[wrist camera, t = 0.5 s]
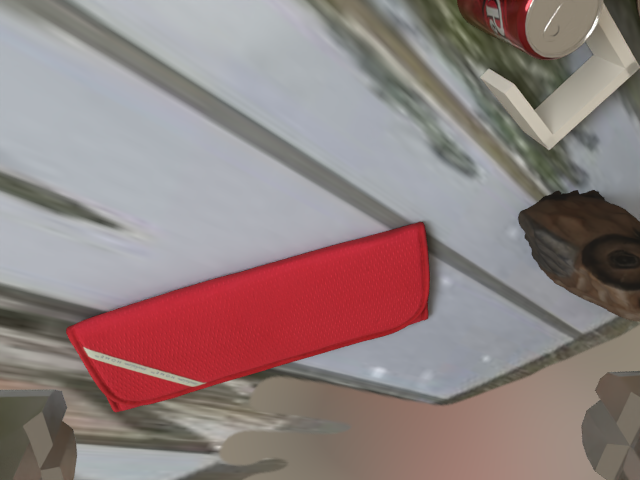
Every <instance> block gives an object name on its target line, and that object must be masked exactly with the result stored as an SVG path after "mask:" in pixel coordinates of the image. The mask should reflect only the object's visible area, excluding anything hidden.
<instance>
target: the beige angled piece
mask: <svg viewBox="0 0 640 480" xmlns="http://www.w3.org/2000/svg"><path fill="white" fill-rule="evenodd" d="M585 42H586V43H587V45H588V47H589V48H590V50H591V51H592V53H593V56H592V57H591V58H590V59H588V60H587V61H586V62H585V63H584V64H583V65H582V66H581V67H580V68H579V69H578V70H577V71H576V72H575V73H573V74H572V75H571V76H570V77H569V78H568V79H567V80H566V81H565V82H564V83H563V84H562V85H561V86H560V87H558V88H557V89H556V90H555V91H554V92H553V93H552V94H551V95H550V96H549V97H548V98H547V99H546V100H545V101H543V102H542V103H541V104H540V105H539V106H538V107H537V108H536V109H535V110H534V109H533V108H532V107H531V105H530V104H529V103H528V101H527V100H526V99H525V98H524V96H523V95H522V94H521V92H520V91H519V90H518V88H517V87H516V86H515V84H513V83H512V82H510V81H508V80H507V79H505V78H503V77H502V76H500V75H499V74H497V73H495V72H494V71H492V70H490V69H488V70H487V71H486V72H485V73H484V74H483V75H482V76H481V77H480V78H481V79H482V81H483V82H484V83H485V84H486V86H487V87H488V88H489V89H490V90H491V92H492V93H493V94H494V95H495V97H496V98H497V99H498V100H499V102H500V103H501V104H502V105H503V107H504V108H505V109H506V110H507V112H508V113H509V114H510V115H511V117H512V118H513V119H514V120H515V121H516V123H517V124H518V125H519V126H520V128H521V129H522V130H523V131H524V132H525V133H526V134H528V135H529V136H530V137H532V138H533V139H535V140H536V141H537V142H539V143H540V144H541V145H543V146H544V147H546V148H547V149H548V150H550V149H551V148H552V147H553V146H554V145H555V144H556V143H557V142H559V141H560V140H561V139H562V138H563V137H564V136H565V135H566V134H567V133H569V132H570V131H571V130H572V129H573V128H574V127H575V126H576V125H577V124H578V123H580V122H581V121H582V120H583V119H584V118H585V117H586V116H587V115H588V114H590V113H591V112H592V111H593V110H594V109H595V108H596V107H597V106H598V105H599V104H601V103H602V102H603V101H604V100H605V99H606V98H607V97H608V96H609V95H611V94H612V93H613V92H614V91H615V90H616V89H617V88H618V87H619V86H620V85H622V84H623V83H624V82H625V81H626V80H627V79H628V78H629V77H630V76H632V75H633V74H634V73H635V72H636V71H637V70H638V69H639V68H640V66H639V65H638V63H637V61H636V59H635V58H634V56H633V54H632V52H631V50H630V49H629V47H628V45H627V43H626V42H625V40H624V38H623V36H622V35H621V33H620V31H619V29H618V28H617V26H616V24H615V22H614V20H613V19H612V17H611V15H610V13H609V12H608V10H607V8H606V6H605V5H604V3H603V9H602V14H601V16H600V19H599V22H598V24H597V26H596V28H595V30H594V31H593V33H592V34H591V35H590V37H589V38H588V39H587V40H586V41H585Z"/></svg>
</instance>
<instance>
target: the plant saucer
mask: <svg viewBox="0 0 640 480" xmlns="http://www.w3.org/2000/svg"><path fill="white" fill-rule="evenodd" d="M636 4H637V10H638V14H639V18H640V0H636Z"/></svg>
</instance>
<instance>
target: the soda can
mask: <svg viewBox="0 0 640 480" xmlns="http://www.w3.org/2000/svg"><path fill="white" fill-rule="evenodd" d="M457 3H458V7H459V11H460V13H461V15H462V16H463V18H464V19H465V20H466V21H467V22H468V23H469V24H471V25H472V26H474V27H476V28H478V29H480V30H481V31H483V32H485V33H487V34H489V35H491V36H493V37H495V38H497V39H499V40H501V41H503V42H505V43H507V44H509V45H511V46H513V47H515V48H517V49H519V50H521V51H522V52H524V53H526V54H528V55H530V56H532V57H534V58H537V59H540V60H553V59H559V58H561V57H564V56H566V55H568V54H570V53H572V52H573V51H575V50H576V49H577V48H579V47H580V46H581V45H582V44H583V43H584V42H585V41H586V40H587V39H588V38H589V37H590V35H591V34H592V33H593V31H594V30H595V28H596V26H597V24H598V22H599V19H600V16H601V14H602V9H603V0H457Z"/></svg>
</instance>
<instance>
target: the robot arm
mask: <svg viewBox="0 0 640 480" xmlns="http://www.w3.org/2000/svg"><path fill="white" fill-rule="evenodd" d="M595 391H596V393H597V395H598V397H599V398H600V401H598V402H597V403H596V404H595V405H593V406H592V407H591V408H589V409H588V410H587V411H586V414H585V417H584V420H583V423H582V442H583V446H584V449H585V452H586V455H587V457H588V460H589V461H590V463H591V465H592V467H593V469H594V471H595V472H597V473H598V474H599V475H601V476H602V477H604V478H605V479H606V480H640V371H631V372H608V373H607V374H605V375H604V376H603V377H602V378H600V381H599V383H598V385H597V387H596V390H595ZM66 409H67V406H66V403H65V400H64V397H63V394H62V391H58V390H0V480H73V479H74V474H75V466H76V459H77V449H76V439H75V435H74V431H73V429H72V428H71V427H70V426H68V425H67V424H66V423H64V422H63V421H62V420H63V417H64V414H65V412H66Z"/></svg>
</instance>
